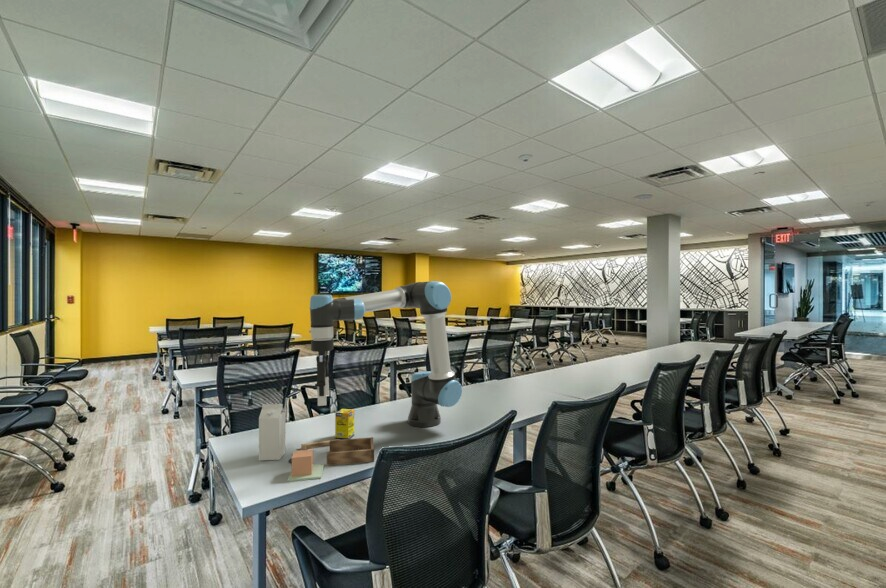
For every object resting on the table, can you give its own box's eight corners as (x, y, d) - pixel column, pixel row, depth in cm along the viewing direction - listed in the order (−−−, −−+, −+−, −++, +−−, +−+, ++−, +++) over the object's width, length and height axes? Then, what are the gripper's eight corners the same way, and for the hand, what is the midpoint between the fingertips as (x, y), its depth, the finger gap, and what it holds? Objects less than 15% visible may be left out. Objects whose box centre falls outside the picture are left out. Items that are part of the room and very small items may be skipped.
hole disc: (307, 456, 147) (307, 455, 147) (305, 463, 141) (305, 462, 141) (290, 457, 145) (290, 456, 145) (287, 464, 140) (287, 463, 140)
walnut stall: (373, 447, 155) (373, 437, 155) (374, 461, 142) (374, 450, 142) (329, 451, 151) (329, 440, 152) (326, 465, 139) (326, 453, 139)
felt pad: (323, 465, 139) (323, 463, 139) (320, 478, 129) (320, 476, 129) (293, 468, 137) (293, 466, 137) (287, 481, 127) (287, 479, 127)
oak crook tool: (338, 443, 160) (338, 439, 160) (340, 448, 154) (340, 444, 154) (301, 448, 155) (301, 444, 155) (302, 453, 149) (302, 449, 149)
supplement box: (348, 440, 163) (348, 413, 163) (334, 439, 164) (334, 412, 164) (354, 435, 169) (354, 409, 169) (341, 434, 170) (341, 408, 170)
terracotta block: (313, 467, 136) (313, 449, 136) (311, 474, 130) (311, 456, 130) (294, 468, 135) (294, 450, 135) (291, 476, 129) (291, 457, 129)
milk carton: (265, 453, 150) (265, 402, 150) (285, 452, 150) (285, 401, 150) (258, 461, 143) (258, 407, 143) (279, 460, 143) (279, 406, 143)
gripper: (314, 335, 152) (315, 392, 152) (306, 344, 127) (308, 411, 128) (335, 334, 153) (336, 390, 154) (331, 343, 129) (332, 409, 129)
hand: (323, 400), depth 141 cm, fingers open, 13 cm apart
